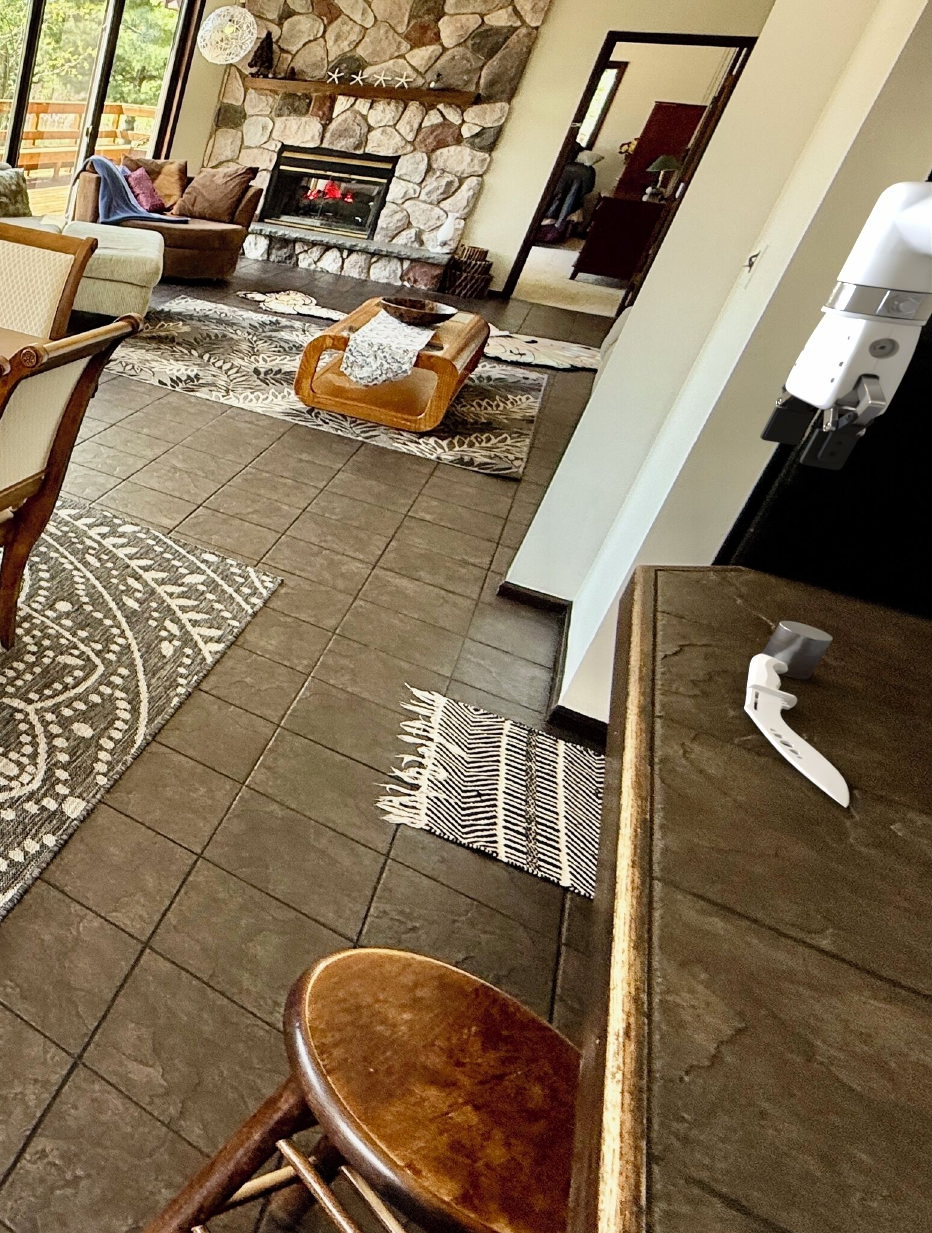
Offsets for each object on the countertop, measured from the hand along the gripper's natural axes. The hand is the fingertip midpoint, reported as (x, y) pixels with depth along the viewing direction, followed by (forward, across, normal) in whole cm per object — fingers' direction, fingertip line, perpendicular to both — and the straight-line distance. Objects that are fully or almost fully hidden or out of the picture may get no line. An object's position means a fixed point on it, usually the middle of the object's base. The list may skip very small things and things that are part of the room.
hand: (797, 453), depth 102 cm
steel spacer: (+26, 0, -9) cm, 28 cm away
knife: (+26, -16, -4) cm, 31 cm away
